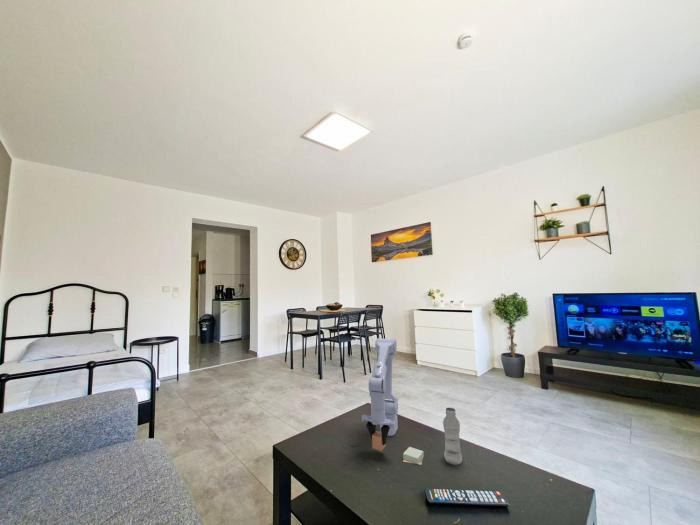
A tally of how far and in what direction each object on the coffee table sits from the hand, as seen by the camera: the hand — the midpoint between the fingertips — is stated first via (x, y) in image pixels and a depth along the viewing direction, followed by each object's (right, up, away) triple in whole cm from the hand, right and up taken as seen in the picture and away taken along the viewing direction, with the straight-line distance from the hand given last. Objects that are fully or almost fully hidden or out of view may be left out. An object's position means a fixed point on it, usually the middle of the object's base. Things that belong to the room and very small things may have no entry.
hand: (379, 442), depth 113 cm
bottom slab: (+13, -6, -4) cm, 15 cm away
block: (0, -2, 0) cm, 2 cm away
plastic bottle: (+28, -5, -6) cm, 29 cm away
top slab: (+13, -4, -4) cm, 14 cm away
